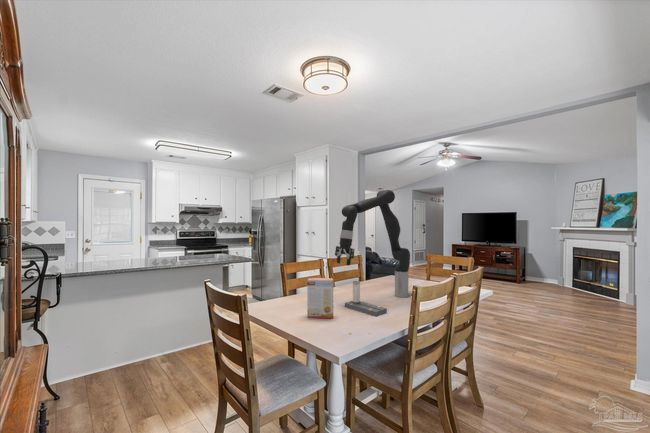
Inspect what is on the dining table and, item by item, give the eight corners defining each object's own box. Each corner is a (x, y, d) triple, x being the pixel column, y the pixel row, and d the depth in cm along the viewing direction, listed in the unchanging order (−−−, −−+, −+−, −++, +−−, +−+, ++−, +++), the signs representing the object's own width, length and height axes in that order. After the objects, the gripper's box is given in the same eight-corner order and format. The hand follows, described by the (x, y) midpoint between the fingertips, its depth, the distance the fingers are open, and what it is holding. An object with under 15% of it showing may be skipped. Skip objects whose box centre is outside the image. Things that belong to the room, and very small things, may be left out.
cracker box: (333, 315, 176) (333, 277, 176) (332, 318, 170) (332, 280, 170) (308, 314, 177) (308, 277, 177) (307, 317, 171) (307, 279, 171)
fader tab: (351, 302, 191) (351, 281, 191) (356, 301, 194) (356, 280, 194) (356, 303, 188) (356, 282, 188) (361, 302, 191) (361, 281, 191)
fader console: (344, 306, 191) (344, 302, 191) (355, 303, 198) (355, 299, 198) (375, 316, 173) (375, 311, 173) (386, 312, 180) (386, 308, 180)
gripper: (358, 239, 190) (355, 266, 189) (342, 237, 201) (339, 262, 200) (350, 238, 185) (346, 265, 184) (334, 236, 196) (330, 262, 195)
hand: (343, 264), depth 192 cm, fingers open, 8 cm apart
